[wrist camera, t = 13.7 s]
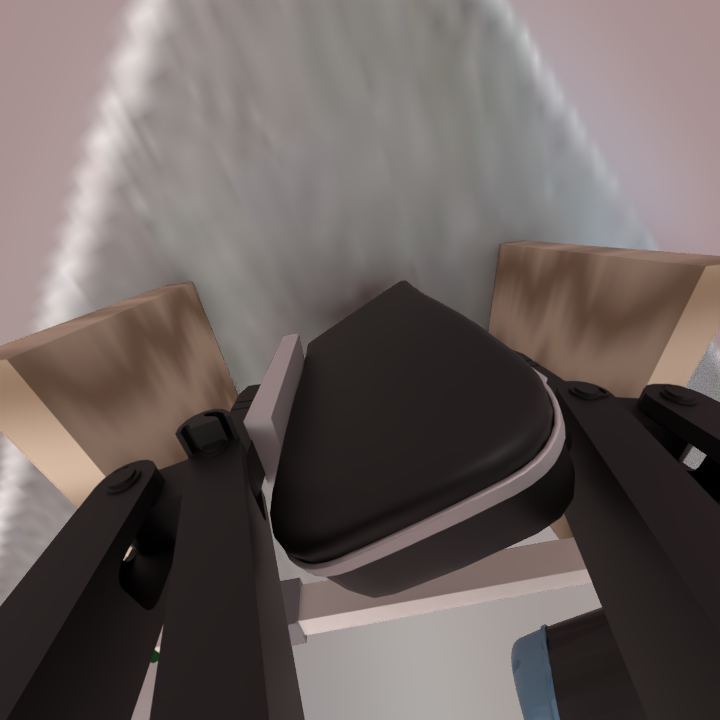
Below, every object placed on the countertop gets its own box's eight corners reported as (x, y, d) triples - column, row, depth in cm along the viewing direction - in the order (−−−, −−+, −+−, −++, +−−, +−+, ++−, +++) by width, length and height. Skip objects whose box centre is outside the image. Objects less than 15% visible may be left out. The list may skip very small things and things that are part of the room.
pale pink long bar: (593, 548, 18) (623, 584, 16) (187, 620, 16) (170, 668, 15) (607, 524, 16) (641, 560, 14) (167, 600, 15) (146, 650, 13)
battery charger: (341, 389, 17) (352, 643, 6) (302, 344, 15) (236, 588, 5) (437, 329, 15) (645, 526, 5) (407, 273, 14) (619, 398, 4)
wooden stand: (493, 421, 28) (594, 543, 17) (243, 460, 27) (185, 615, 16) (525, 241, 20) (759, 259, 9) (164, 286, 19) (-62, 368, 8)
